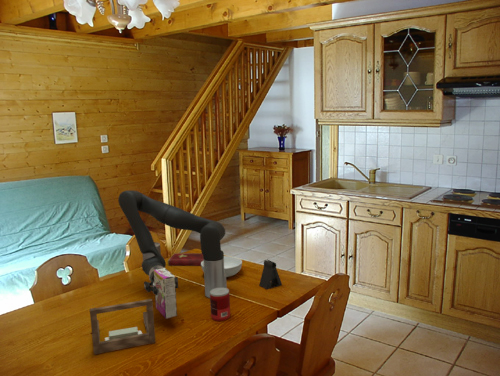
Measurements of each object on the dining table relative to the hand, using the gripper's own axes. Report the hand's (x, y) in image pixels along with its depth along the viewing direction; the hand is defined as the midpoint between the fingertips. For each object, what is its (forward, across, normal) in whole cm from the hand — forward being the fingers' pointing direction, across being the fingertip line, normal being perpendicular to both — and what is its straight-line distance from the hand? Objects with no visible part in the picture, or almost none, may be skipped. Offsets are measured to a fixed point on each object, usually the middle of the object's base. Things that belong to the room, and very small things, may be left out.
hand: (164, 291), depth 173 cm
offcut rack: (+3, -17, +14) cm, 22 cm away
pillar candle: (-69, +3, +15) cm, 70 cm away
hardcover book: (-71, +24, +15) cm, 77 cm away
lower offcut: (+7, -17, +14) cm, 23 cm away
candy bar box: (-1, 0, +9) cm, 9 cm away
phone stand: (-21, +52, +14) cm, 58 cm away
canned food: (+2, +21, +14) cm, 25 cm away
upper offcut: (+7, -17, +12) cm, 22 cm away
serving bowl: (-45, +35, +14) cm, 59 cm away
